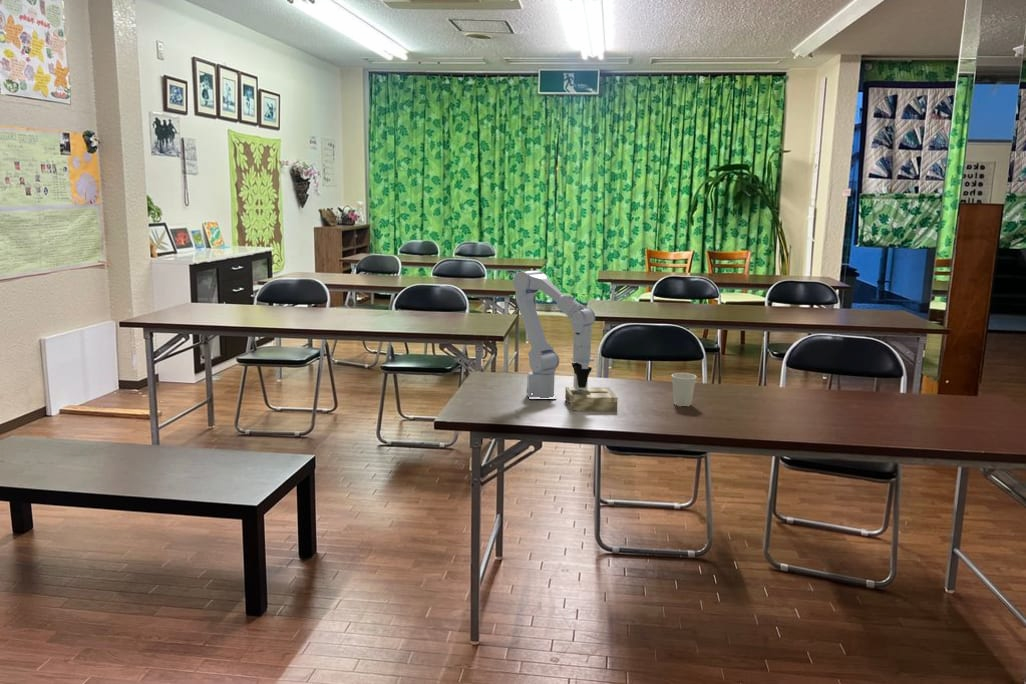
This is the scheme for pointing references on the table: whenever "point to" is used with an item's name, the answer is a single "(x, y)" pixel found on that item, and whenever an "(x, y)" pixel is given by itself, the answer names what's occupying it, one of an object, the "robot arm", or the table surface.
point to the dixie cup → (683, 388)
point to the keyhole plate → (592, 399)
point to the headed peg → (576, 387)
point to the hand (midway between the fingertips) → (580, 385)
